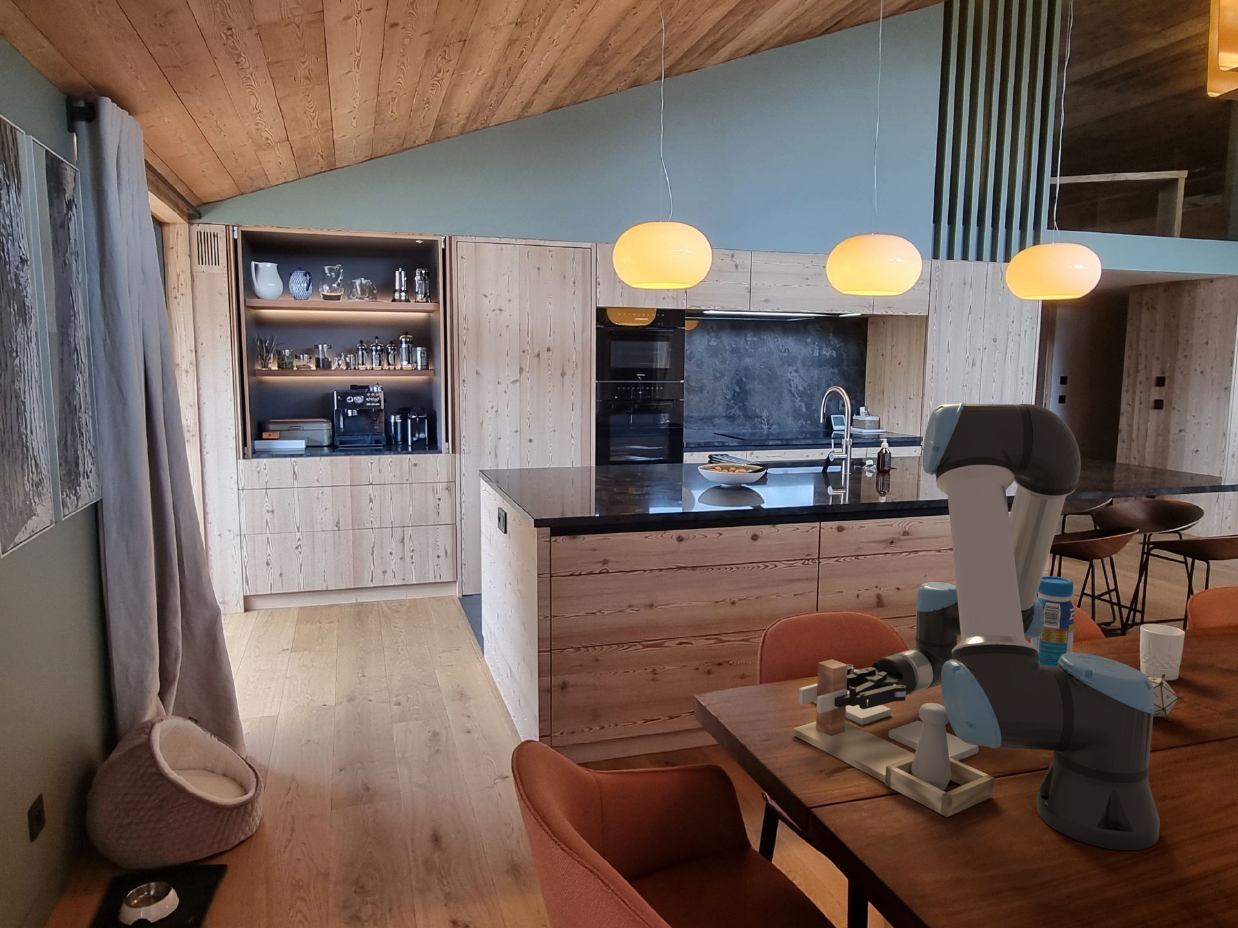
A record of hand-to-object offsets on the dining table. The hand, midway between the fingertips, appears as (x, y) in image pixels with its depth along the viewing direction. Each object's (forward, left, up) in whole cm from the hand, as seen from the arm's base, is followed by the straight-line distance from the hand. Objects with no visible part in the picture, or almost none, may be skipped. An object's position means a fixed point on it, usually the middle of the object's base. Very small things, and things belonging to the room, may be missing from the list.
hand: (809, 700), depth 140 cm
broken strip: (-1, -18, -8) cm, 20 cm away
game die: (-25, -63, -8) cm, 69 cm away
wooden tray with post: (-12, -5, -8) cm, 15 cm away
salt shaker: (-20, -6, -8) cm, 23 cm away
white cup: (-15, -88, -8) cm, 90 cm away
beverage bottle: (-1, -71, -8) cm, 72 cm away
